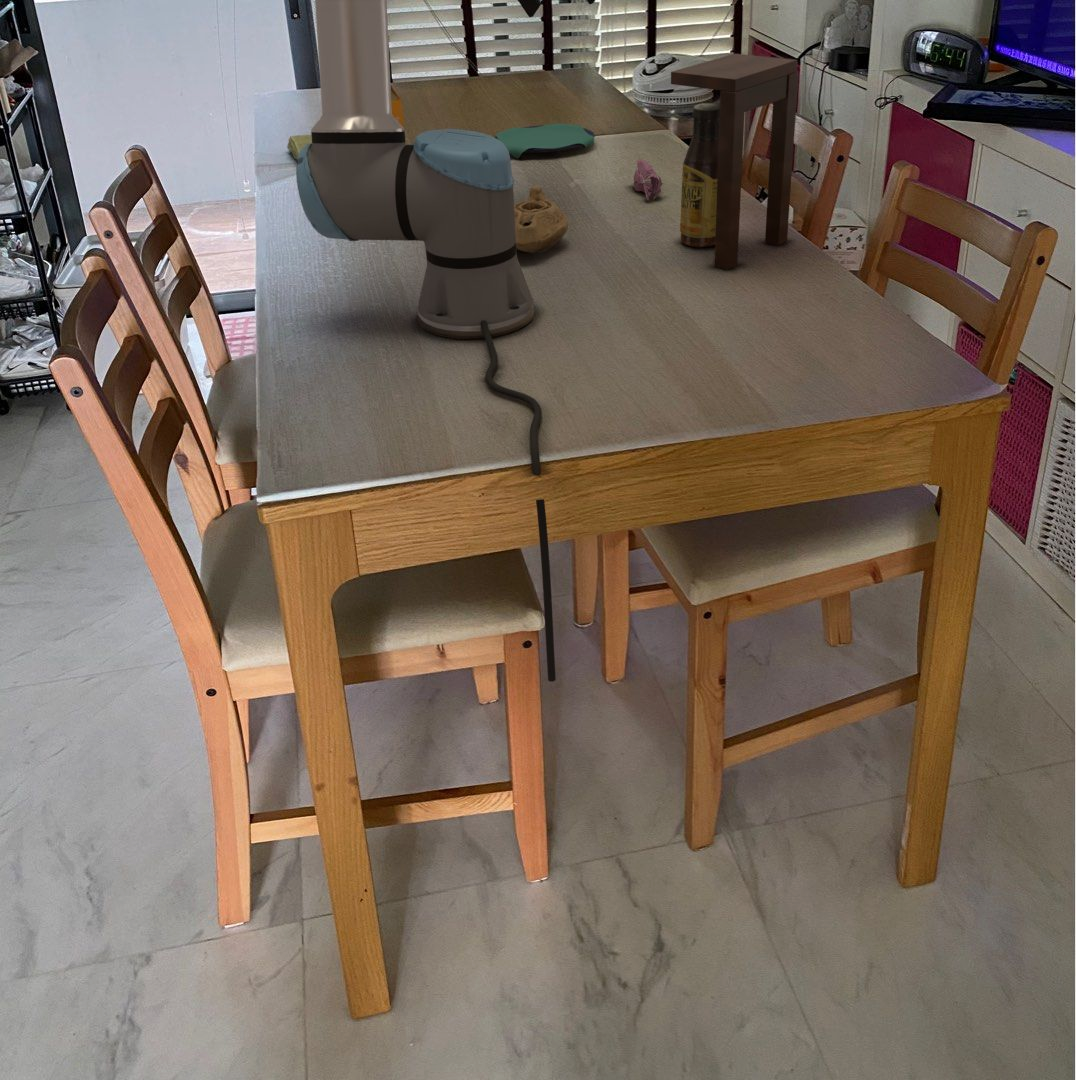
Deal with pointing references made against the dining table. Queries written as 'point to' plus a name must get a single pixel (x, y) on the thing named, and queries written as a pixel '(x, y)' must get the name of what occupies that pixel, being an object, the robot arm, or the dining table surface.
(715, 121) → the sauce bottle
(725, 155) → the wooden step stool
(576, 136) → the green pad
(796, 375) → the dining table surface
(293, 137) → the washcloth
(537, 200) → the oil lamp
